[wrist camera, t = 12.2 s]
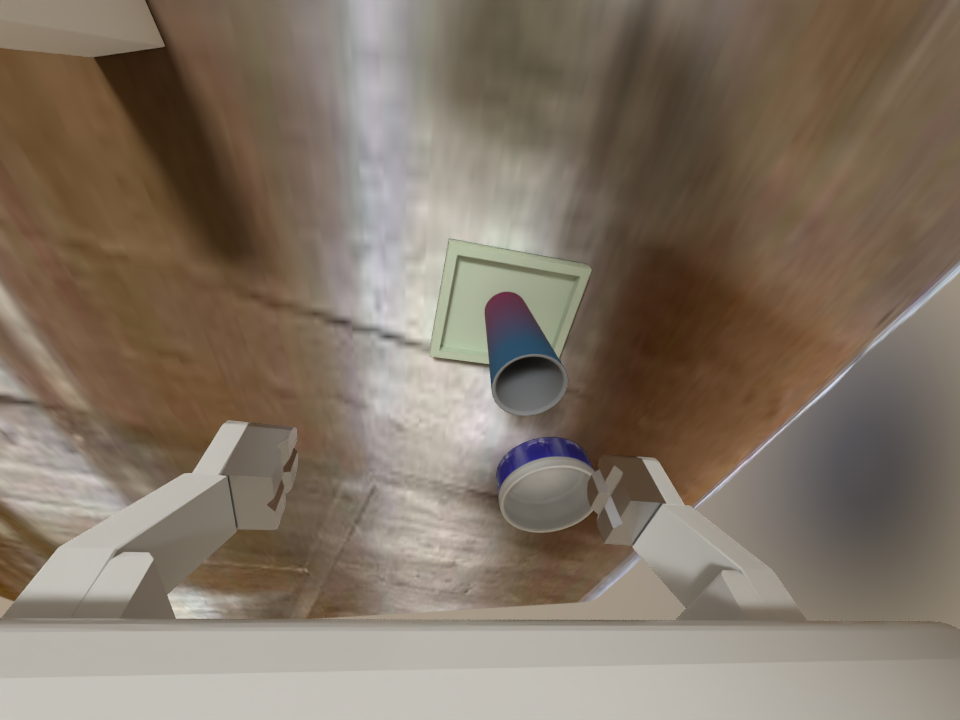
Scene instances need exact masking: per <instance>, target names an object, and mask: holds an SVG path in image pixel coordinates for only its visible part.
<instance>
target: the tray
mask: <svg viewBox="0 0 960 720" xmlns="http://www.w3.org/2000/svg"><path fill="white" fill-rule="evenodd" d="M591 271H592V269H591V268H590V267H589V266H588V265H587V264H584V263H578V262H573V261H568V260H562V259H557V258H551V257H546V256H541V255H535V254H530V253H524V252H519V251H514V250H508V249H503V248H497V247H492V246H487V245H481V244H476V243H470V242H465V241H460V240H454V239H449V241H448V247H447V253H446V259H445V264H444V270H443V276H442V282H441V287H440V293H439V299H438V305H437V310H436V316H435V322H434V328H433V333H432V339H431V345H430V357H438V358H446V359H454V360H461V361H469V362H477V363H485V364H489V356H488V345H487V335H486V324H485V306H486V304H487V302H488V301H489V300H490V299H491V298H492V297H493V296H494V295H496V294H498V293H501V292H513V293H516V294H518V295H519V296H521V297H522V298H523V300H524V301H525V303H526V305H527V306H528V308H529V310H530V311H531V313H532V315H533V316H534V318H535V320H536V321H537V323H538V325H539V326H540V328H541V330H542V332H543V333H544V335H545V337H546V338H547V340H548V342H549V343H550V345H551V347H552V348H553V350H554V352H555V353H556V355H557V357H558V358H559V357H560V354H561V351H562V349H563V346H564V343H565V341H566V338H567V335H568V333H569V330H570V327H571V324H572V322H573V319H574V316H575V314H576V311H577V308H578V306H579V303H580V300H581V298H582V295H583V292H584V289H585V287H586V284H587V281H588V279H589V276H590V273H591Z"/></svg>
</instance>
